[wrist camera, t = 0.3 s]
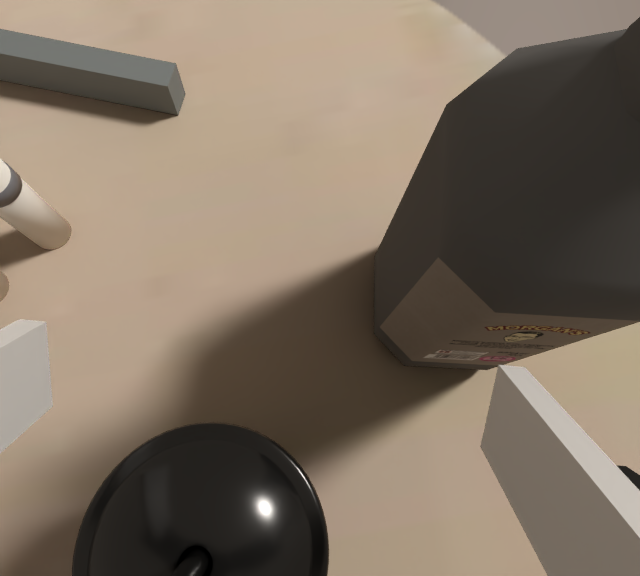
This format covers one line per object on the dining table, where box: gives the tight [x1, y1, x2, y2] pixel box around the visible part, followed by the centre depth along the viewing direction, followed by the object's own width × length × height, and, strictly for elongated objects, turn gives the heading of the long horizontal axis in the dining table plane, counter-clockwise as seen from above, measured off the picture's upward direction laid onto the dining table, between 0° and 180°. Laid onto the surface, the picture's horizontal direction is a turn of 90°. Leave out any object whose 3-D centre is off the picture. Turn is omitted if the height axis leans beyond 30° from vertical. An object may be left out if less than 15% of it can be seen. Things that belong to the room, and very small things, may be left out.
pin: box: [0, 159, 71, 250], centre depth 27 cm, size 2×2×8 cm
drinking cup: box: [72, 422, 329, 576], centre depth 17 cm, size 8×8×20 cm
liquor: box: [374, 17, 640, 370], centre depth 17 cm, size 9×9×30 cm
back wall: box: [0, 29, 185, 115], centre depth 33 cm, size 2×16×3 cm, turn 79°
